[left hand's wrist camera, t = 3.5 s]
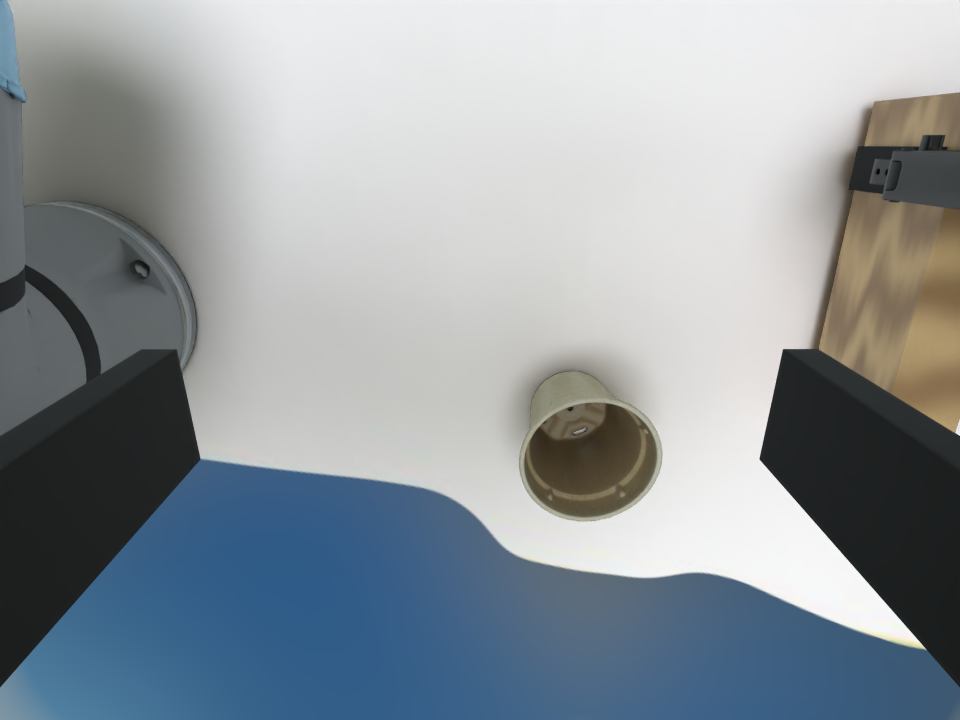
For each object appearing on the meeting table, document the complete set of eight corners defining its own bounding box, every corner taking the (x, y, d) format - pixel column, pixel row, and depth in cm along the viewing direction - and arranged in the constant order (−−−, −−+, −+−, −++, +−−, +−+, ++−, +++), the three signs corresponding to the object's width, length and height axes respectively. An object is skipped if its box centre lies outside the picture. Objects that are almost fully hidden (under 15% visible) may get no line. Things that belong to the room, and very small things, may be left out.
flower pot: (573, 325, 42) (596, 369, 34) (652, 402, 44) (691, 460, 36) (487, 406, 44) (489, 465, 36) (567, 475, 47) (585, 544, 39)
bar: (858, 433, 44) (934, 492, 37) (798, 434, 44) (862, 493, 37) (948, 100, 35) (1072, 89, 28) (873, 101, 35) (978, 90, 28)
